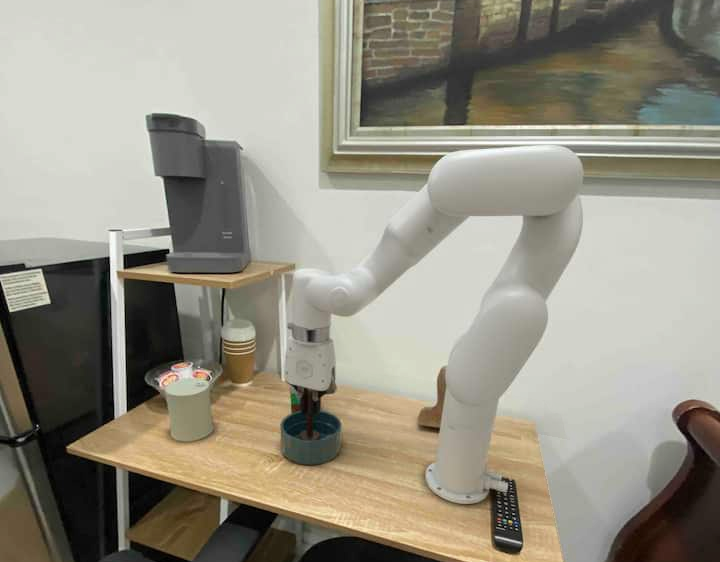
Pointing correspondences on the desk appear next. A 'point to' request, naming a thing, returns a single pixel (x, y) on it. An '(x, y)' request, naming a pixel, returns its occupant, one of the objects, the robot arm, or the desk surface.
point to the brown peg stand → (309, 422)
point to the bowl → (310, 449)
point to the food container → (294, 400)
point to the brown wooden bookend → (434, 414)
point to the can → (189, 409)
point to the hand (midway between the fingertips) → (310, 412)
